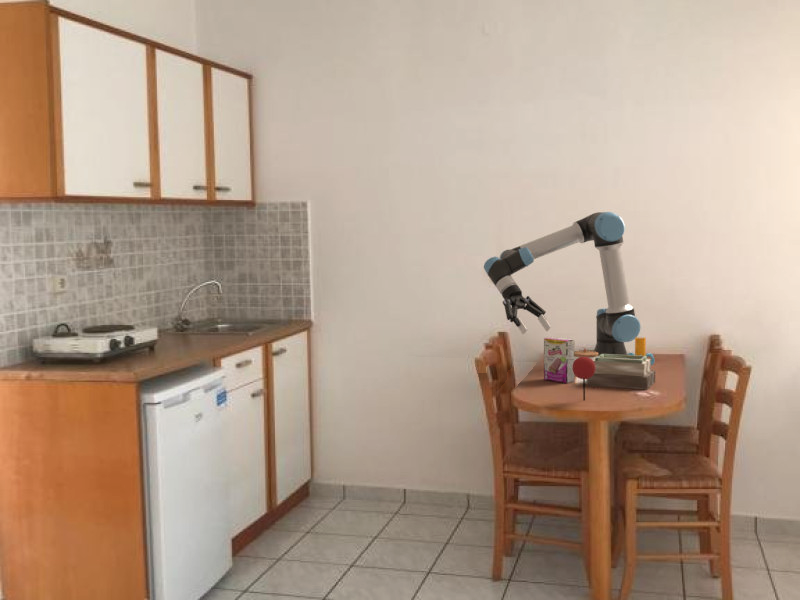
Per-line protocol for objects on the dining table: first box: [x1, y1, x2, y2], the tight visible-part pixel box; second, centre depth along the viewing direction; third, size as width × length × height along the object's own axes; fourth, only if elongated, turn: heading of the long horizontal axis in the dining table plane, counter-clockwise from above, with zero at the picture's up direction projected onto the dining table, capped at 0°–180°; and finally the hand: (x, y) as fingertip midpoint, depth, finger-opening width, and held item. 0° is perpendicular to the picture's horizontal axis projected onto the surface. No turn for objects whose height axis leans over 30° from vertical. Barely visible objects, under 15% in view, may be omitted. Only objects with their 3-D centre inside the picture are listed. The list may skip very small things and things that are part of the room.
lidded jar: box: [574, 348, 599, 361], centre depth 371 cm, size 11×11×9 cm
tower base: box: [586, 354, 656, 391], centre depth 343 cm, size 16×22×10 cm
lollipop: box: [572, 357, 595, 401], centre depth 314 cm, size 8×8×15 cm
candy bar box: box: [543, 336, 575, 384], centre depth 350 cm, size 11×5×16 cm, turn 44°
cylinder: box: [627, 336, 655, 366], centre depth 360 cm, size 12×10×15 cm
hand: (537, 330), depth 358 cm, fingers open, 13 cm apart
